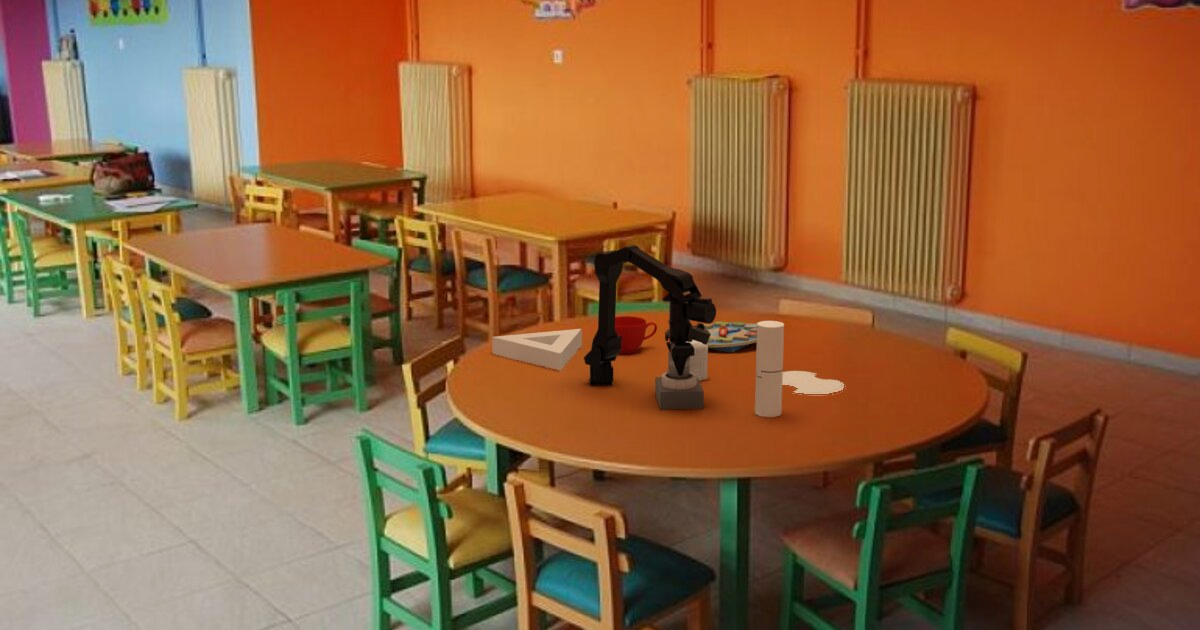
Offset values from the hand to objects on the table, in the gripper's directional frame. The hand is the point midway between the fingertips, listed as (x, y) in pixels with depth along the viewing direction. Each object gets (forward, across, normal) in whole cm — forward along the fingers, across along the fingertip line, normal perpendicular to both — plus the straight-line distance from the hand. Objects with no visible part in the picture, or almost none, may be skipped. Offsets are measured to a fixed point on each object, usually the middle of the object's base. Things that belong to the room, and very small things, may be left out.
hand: (679, 372), depth 337 cm
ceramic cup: (+9, +53, +9) cm, 54 cm away
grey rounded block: (+2, 0, 0) cm, 2 cm away
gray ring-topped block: (+8, 0, 0) cm, 8 cm away
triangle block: (+9, +44, +36) cm, 57 cm away
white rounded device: (+9, +19, -6) cm, 22 cm away
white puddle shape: (+9, +14, -39) cm, 42 cm away
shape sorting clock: (+9, +62, -22) cm, 66 cm away
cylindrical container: (+9, -12, -23) cm, 27 cm away
